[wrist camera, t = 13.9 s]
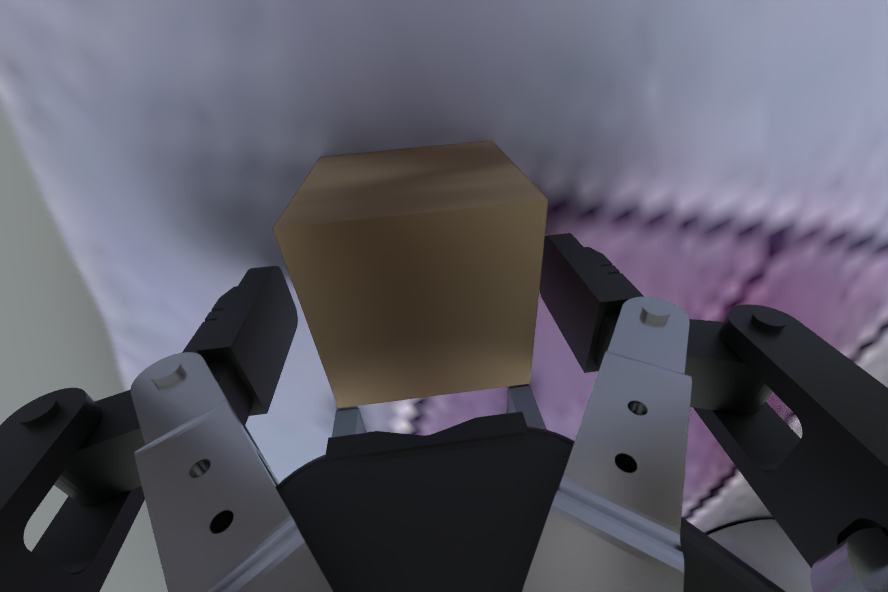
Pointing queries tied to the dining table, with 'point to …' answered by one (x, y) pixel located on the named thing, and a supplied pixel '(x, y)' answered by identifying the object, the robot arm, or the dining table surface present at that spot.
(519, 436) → the robot arm
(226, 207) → the dining table surface
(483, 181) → the block
